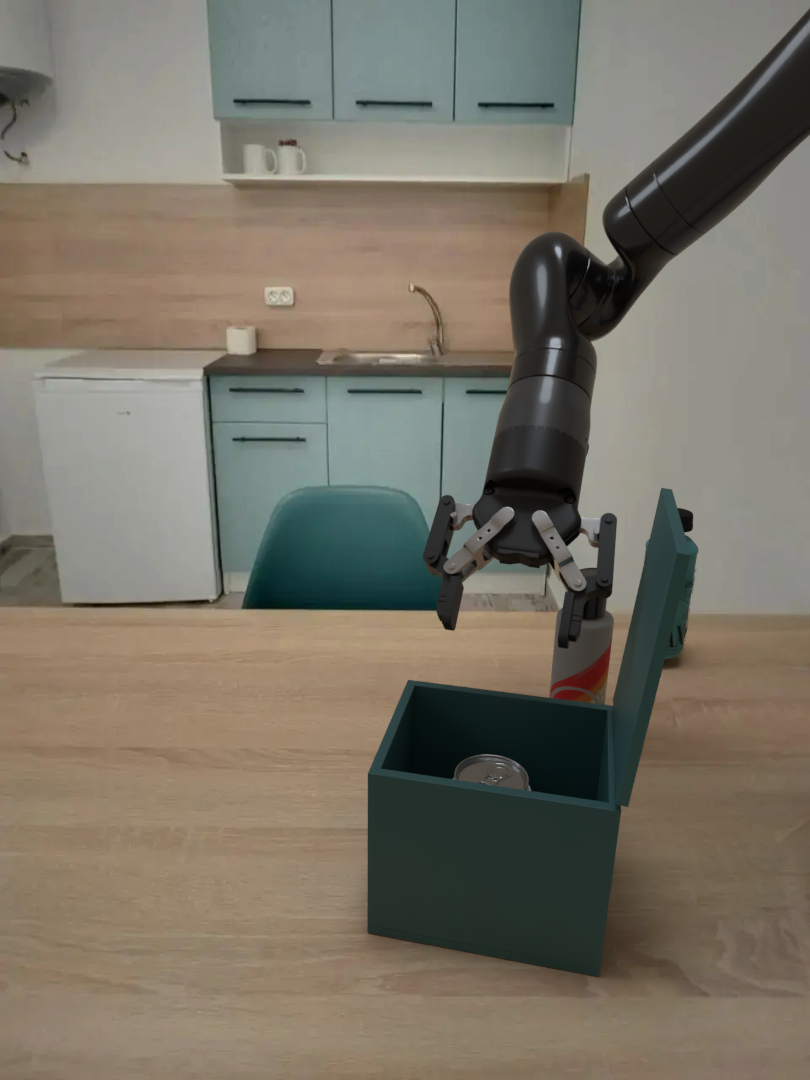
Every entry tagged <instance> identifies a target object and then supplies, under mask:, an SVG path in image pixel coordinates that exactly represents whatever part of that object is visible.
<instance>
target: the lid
mask: <svg viewBox="0 0 810 1080" xmlns="http://www.w3.org/2000/svg"><path fill="white" fill-rule="evenodd" d="M677 508H678V505H677V502H676V498H675V494H674V492H673V489H671V488H665V487H661V488H660V492H659V495H658V500H657V505H656V509H655V513H654V518H653V522H652V526H651V531H650V535H649V538H648V540H649V544H648V548H647V553H646V557H645V556H644V559H645V561H644V560H643V566H642V570H641V575H640V579H639V584H638V587H637V588H638V589H637V593H636V596H635V601H634V606H633V610H632V614H631V619H630V624H629V628H628V632H627V638H626V641H625V645H624V649H623V654H622V657H621V663H620V667H619V672H618V676H617V680H616V683H615V689H614V693H613V698H612V706H613V717H614V750H615V783H616V804H617V805H621V807H626V808H628V807H629V804H630V801H631V797H632V793H633V788H634V785H635V780H636V777H637V774H638V768H639V764H640V761H641V757H642V753H643V748H644V744H645V741H646V738H647V737H646V736H647V732H648V728H649V725H650V720H651V716H652V713H653V710H654V709H653V708H654V704H655V700H656V697H657V693H658V689H659V684H660V681H661V676H662V672H663V668H664V665H665V660H666V659H665V657H666V653H667V649H668V645H669V641H670V637H671V633H672V629H673V625H674V621H675V617H676V613H677V609H678V605H679V601H680V597H681V593H682V589H683V585H684V581H685V577H686V573H687V569H688V565H689V560H690V556H691V554H690V551H689V547H688V544H687V540H686V537H685V535H686V534H685V533H686V532H684V530H683V526H682V523H681V519H680V516H679V512H678V509H677Z"/></svg>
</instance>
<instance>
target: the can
mask: <svg viewBox="0 0 810 1080" xmlns="http://www.w3.org/2000/svg"><path fill="white" fill-rule="evenodd" d="M453 779H454V780H461V781H467V782H474V783H481V784H487V785H494V786H501V787H507V788H514V789H521V790H528V791H531V789H530V786H529V777H528V774H527V772H526V770H525V769H524V768H523V767H522V766H521V765H520V764H518V763H517V762H515V761H514V760H511V759H509V758H506V757H503V756H499V755H492V754H482V755H476V756H472V757H469V758H467V759H465V760H463V761H462V762H460V763H459V764H458V766H457V767H456V769H455V772H454V778H453Z"/></svg>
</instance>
